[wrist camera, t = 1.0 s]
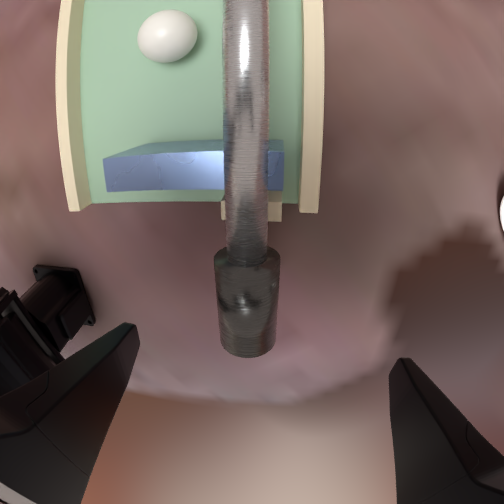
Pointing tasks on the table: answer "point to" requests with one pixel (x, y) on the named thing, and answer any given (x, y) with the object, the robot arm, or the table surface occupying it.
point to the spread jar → (502, 212)
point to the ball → (167, 36)
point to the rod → (229, 180)
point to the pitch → (180, 95)
